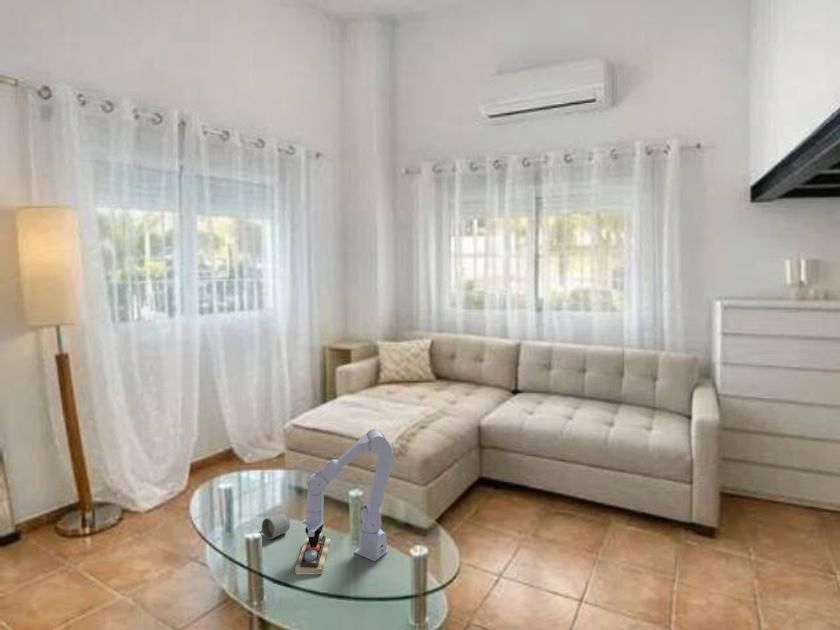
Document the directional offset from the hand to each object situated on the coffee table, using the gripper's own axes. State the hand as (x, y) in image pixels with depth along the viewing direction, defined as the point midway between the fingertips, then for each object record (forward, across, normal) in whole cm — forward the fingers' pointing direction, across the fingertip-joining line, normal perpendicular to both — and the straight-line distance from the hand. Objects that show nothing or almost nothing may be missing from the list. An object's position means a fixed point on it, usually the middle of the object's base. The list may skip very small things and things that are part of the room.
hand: (313, 546), depth 185 cm
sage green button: (+1, -7, 0) cm, 7 cm away
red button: (+2, 0, 0) cm, 2 cm away
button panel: (+4, 0, 0) cm, 4 cm away
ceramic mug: (+5, -16, -18) cm, 25 cm away
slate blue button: (+1, +7, 0) cm, 7 cm away
